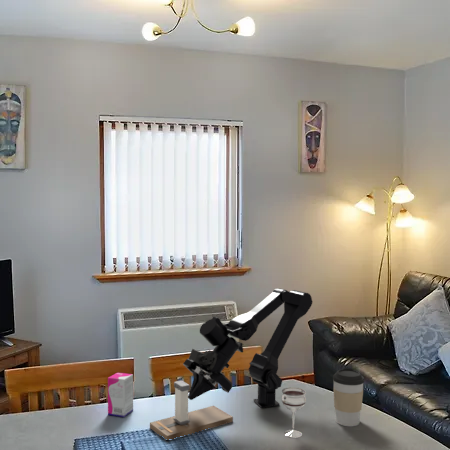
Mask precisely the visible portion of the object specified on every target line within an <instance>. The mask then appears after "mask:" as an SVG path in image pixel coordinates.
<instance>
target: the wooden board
mask: <svg viewBox="0 0 450 450" xmlns="http://www.w3.org/2000/svg"><path fill="white" fill-rule="evenodd" d="M173 418H175V415H174V416H170V417H166V418H163V419H159V420H155V421H152V422H149V429H150V430H152V431H154V432H155V434H157V435H158V434H159V435H158V436H160V435H161V436H163V437H164V438H165V439H167V440H169V439H173V440H175V439H174V438H176V437H180V436H183V437H185V436H184V435H187V436H189V435H188V434H190V435H193V434H196V433H195V432H197V433H199V431H200V432H203V431H202V430H204V431H206V430H205V429H207V430H209V429H208V428H210V429H214V428H216V427H220V426H223V425H226V424H230V423H233V422H234V417H233V416H232V415H231V414H229V413H227V412H226V411H225V410H222V409H221V408H218V407H217V406H215V405H210V406H207V407H203V408H200V409H196V410H192V411H188V420H190V423H186V424H183V425H180V424H178V423H177V422H176V421H174V420H173ZM192 433H193V434H192ZM161 436H160V437H161ZM180 438H181V437H180ZM165 439H164V440H165Z"/></svg>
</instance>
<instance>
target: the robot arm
mask: <svg viewBox="0 0 450 450" xmlns="http://www.w3.org/2000/svg"><path fill="white" fill-rule="evenodd" d="M311 295H312V294H310V293H308V292H305V291H301V290H296V289H292V290H289V291H288V290H286V289H283V288H277V287H276V288H275V289H273V290H272V292H271V293H270V294H269V295H268V296H266V297H265V298H264V299H263V300H262V301H260V302H259V303H258V304H256V305H255V306H254V307H253V308H252V309H251V310H249V311H248V312H245V313H242V314H239V315H237V316H235V317H234V318H231V320H229V322H226V323H223V322H222V321H221V319H220V318H219V317H217V316H212V318H211V319H208V320H206V321H205V322H203V323H202V324H201V326H200V327H199V334H200V335H201V336H202V337H203V338H204V339H205V340H206V341H207V342H208V343H209V344H210V345H211V346H212V347H214V348H213V350H205V351H201V350H197V349H194V348H192V349H191V352H190V353H189V356H188V358H186V359H185V361H184V362H183V363H182V365H183V366H184V367H185V368H186V369H187V370H188V371H189V372H190V373H192V378H193V381H192V383H191V384H192V385H191V386H190V390H189V391H188V400H189V401H194V400H195V399H197V397H199V396H201V395H204V394H206V393H207V392H209V391H211V390H216V389H217V387H216V385H217V384H219V386H220V387H221V390H222V391H223V392H226V393H227V394H229V393H230V391H231V390H232V388H233V383H232V382H231V381H230V380H229V378H227V376H226V375H225V374H223V373H222V371H223V370H224V369H225V368H227V369H228V368H229V367H230V363H229V362H230V360H231V359H232V358H233V356H234V355H235V353H236V352H239V353H243V352H244V347H243V344H244V343H243V342H241V341H249V340H250V339H251V338H252V337H253V336H254V334H255V333H257V330H258V327H259V325H260V324H261V323H262V322H263V321H264V320H266V319H267V318H268V317H269V316H270V315H271V314H273V313H274V312H275V311H276V310H277V309H279V307H281V306H282V305H283V309H284V310H283V314H282V317H281V318H280V320H279V321H278V324H277V326H276V328H275V329H274V332H273V334H272V336H271V337H270V339H269V341H268V343H267V345H266V347H265V349H264V351H262V352H261V353H257V352H255V354H254V355H253V358H252V360H251V361H250V362H249V368H248V372H249V373H248V374H249V376H250V378H251V380H252V382H253V383H254V384H257V398H253V402H254V403H255V404H256V405H258V407H260V408H261V409H265V408H271V407H272V408H273V407H279V406H280V405H281V404H280V402H278V400H277V399H276V398H277V397H276V396H277V395H276V393H277V391H276V390H278V388H281V387H282V383H283V379H282V378H281V377H280V376H279V375H278V374H277V373H278V371H279V357H280V355H281V354H282V351H283V350H284V348H285V346H286V344H287V341H288V340H289V338H290V336H291V333H292V332H293V330H294V328H295V326H296V324H297V322H298V320H300V319H301V318H303V317H304V316H305V315H307V313H308V312H309V310H310V309H311V307H312V305H313V297H312V296H311ZM229 335H230V336H229ZM235 338H236V339H238V340H240V341H237V340H236V339H235Z"/></svg>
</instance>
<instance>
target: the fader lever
mask: <svg viewBox="0 0 450 450" xmlns="http://www.w3.org/2000/svg"><path fill="white" fill-rule="evenodd" d="M173 387H174V390H175V391H174V416H175V418H173V420H174V421H176V422H177V423H178V424H180V425H183V424H186V423H190V420H188V412H189V398H188V395H189V391H190V389H191V386H190V384H188V383H187V382H185V381H183V380H177V381H173Z"/></svg>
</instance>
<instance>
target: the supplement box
mask: <svg viewBox="0 0 450 450" xmlns="http://www.w3.org/2000/svg"><path fill="white" fill-rule="evenodd" d="M133 411H134V374H132V373H125V372H116V373H114V374H112V375H110V376H109V377H107V416H111V417H112V416H113V417H119V418H126V417H127V416H128V415H130V414H131V413H132V412H133Z"/></svg>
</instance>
